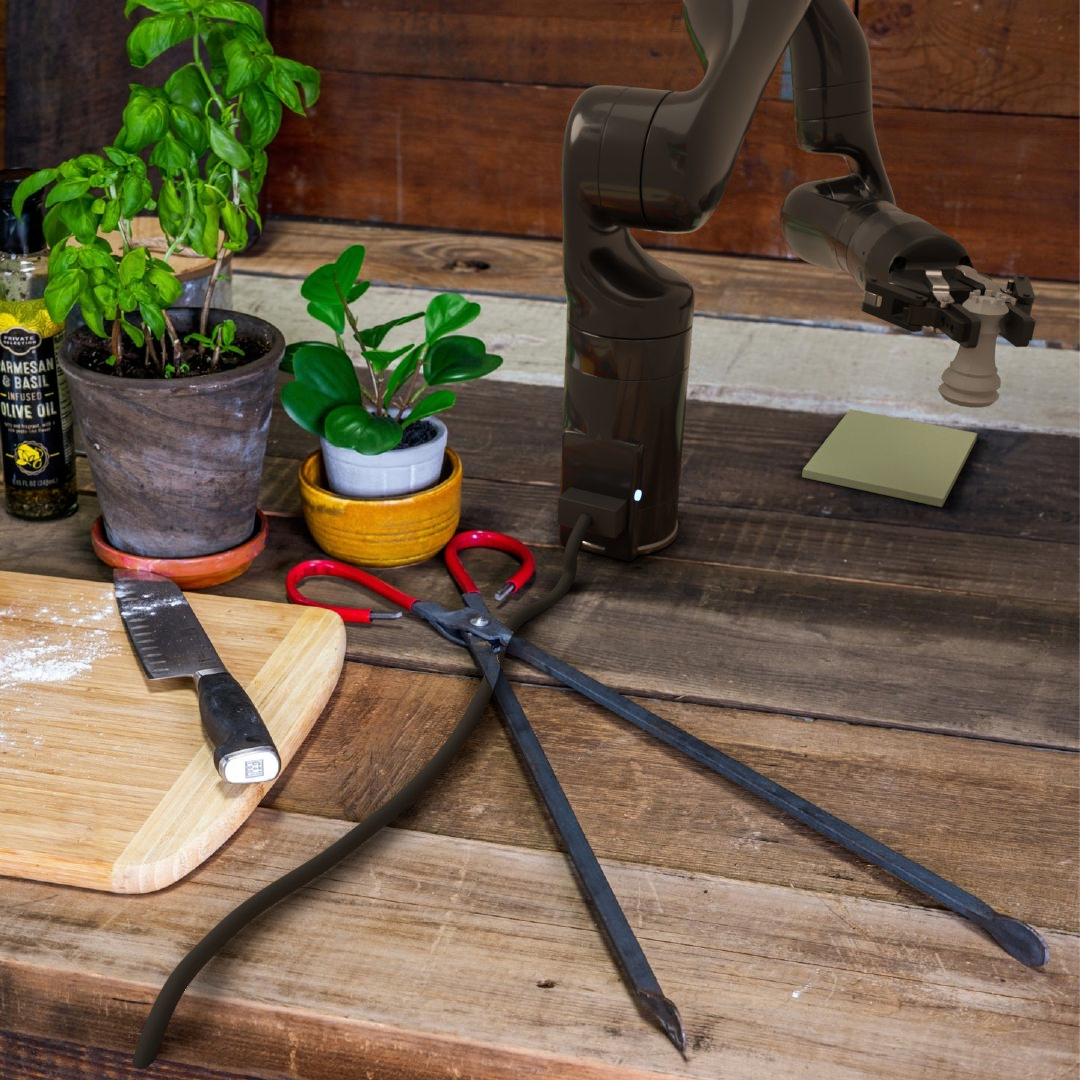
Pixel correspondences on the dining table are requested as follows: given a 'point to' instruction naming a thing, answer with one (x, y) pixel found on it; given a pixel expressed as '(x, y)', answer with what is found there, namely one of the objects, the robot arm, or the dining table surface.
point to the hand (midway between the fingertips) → (1000, 334)
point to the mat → (892, 457)
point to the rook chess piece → (977, 357)
